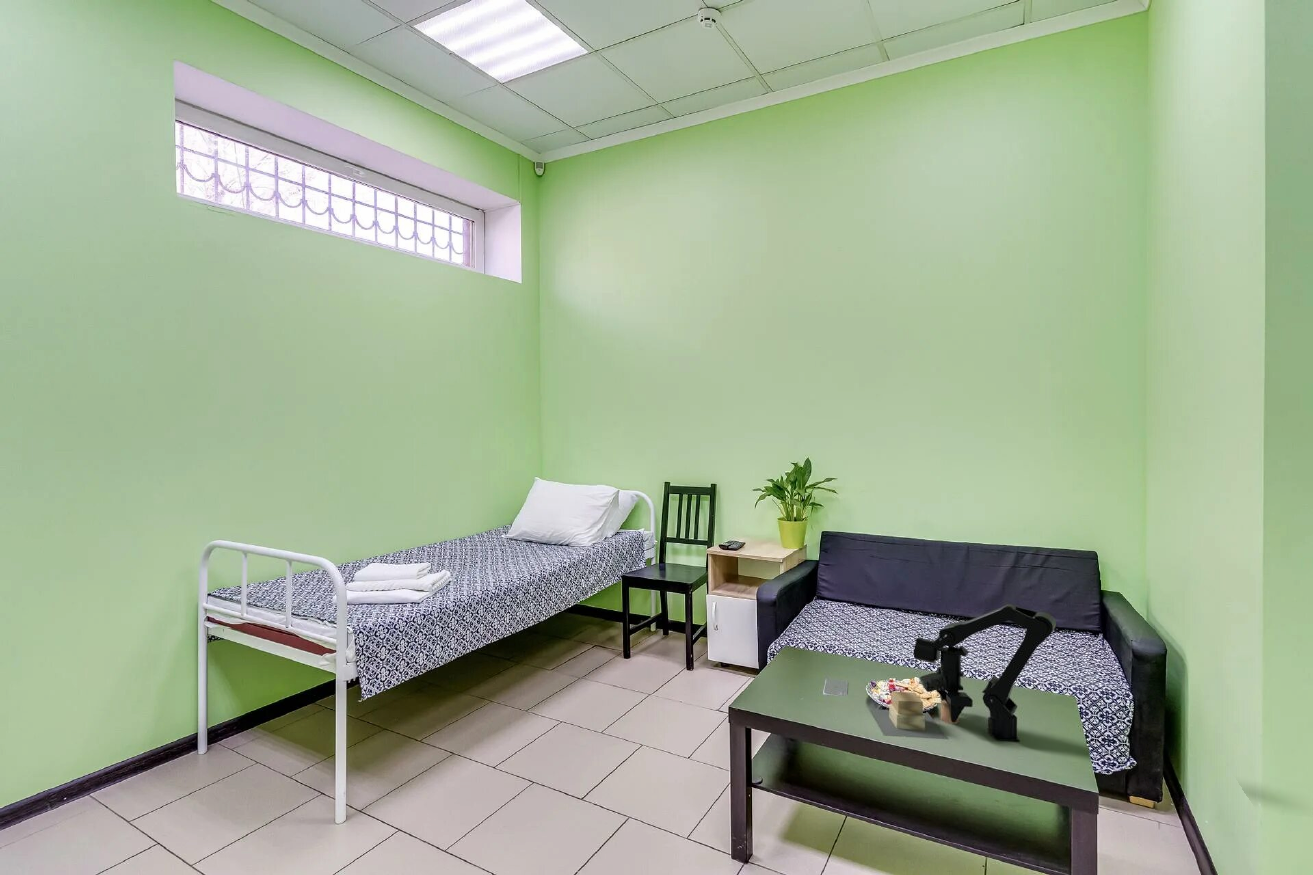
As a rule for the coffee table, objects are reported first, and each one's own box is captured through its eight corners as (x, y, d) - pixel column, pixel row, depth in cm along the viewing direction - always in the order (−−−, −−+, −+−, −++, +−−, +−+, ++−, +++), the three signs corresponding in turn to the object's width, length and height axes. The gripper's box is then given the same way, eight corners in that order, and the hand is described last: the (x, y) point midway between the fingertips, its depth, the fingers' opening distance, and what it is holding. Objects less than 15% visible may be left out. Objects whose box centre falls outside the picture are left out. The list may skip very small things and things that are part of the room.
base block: (916, 718, 192) (916, 705, 192) (924, 729, 184) (925, 716, 184) (889, 716, 192) (889, 703, 192) (896, 728, 184) (896, 714, 184)
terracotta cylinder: (955, 718, 193) (955, 700, 193) (961, 725, 188) (961, 707, 188) (938, 717, 193) (938, 699, 193) (944, 724, 188) (944, 706, 188)
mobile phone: (848, 680, 221) (846, 696, 207) (848, 683, 221) (846, 699, 207) (825, 677, 224) (822, 692, 210) (825, 679, 224) (822, 695, 210)
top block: (915, 705, 191) (915, 692, 191) (922, 715, 184) (922, 701, 184) (891, 704, 192) (891, 691, 192) (898, 714, 185) (898, 700, 185)
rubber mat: (927, 713, 196) (927, 712, 196) (948, 740, 178) (948, 738, 178) (868, 710, 198) (868, 708, 198) (883, 736, 180) (883, 735, 180)
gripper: (913, 655, 201) (913, 703, 201) (933, 676, 182) (933, 730, 182) (949, 656, 200) (949, 705, 200) (973, 678, 181) (973, 732, 181)
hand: (950, 717), depth 191 cm, fingers closed on terracotta cylinder, 5 cm apart
